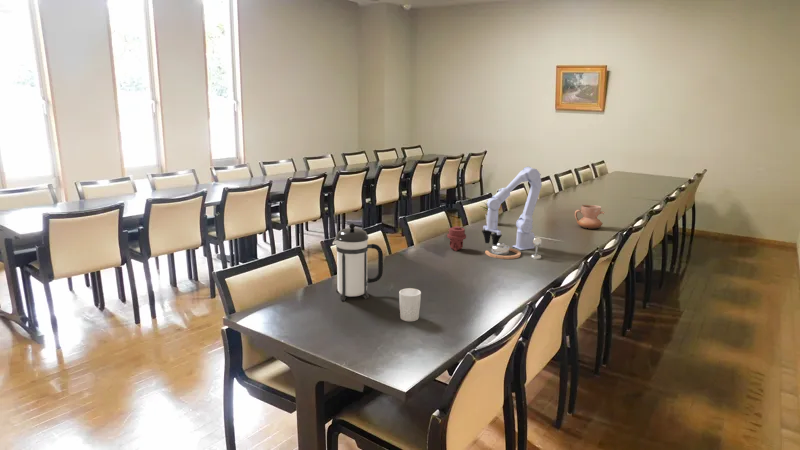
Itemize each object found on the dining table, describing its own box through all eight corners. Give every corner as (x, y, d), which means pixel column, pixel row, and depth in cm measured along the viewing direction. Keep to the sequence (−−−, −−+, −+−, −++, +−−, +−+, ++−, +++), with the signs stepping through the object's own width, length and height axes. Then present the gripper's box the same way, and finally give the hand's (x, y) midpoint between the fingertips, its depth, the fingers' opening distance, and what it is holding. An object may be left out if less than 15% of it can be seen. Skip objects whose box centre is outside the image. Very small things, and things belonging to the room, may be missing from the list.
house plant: (485, 220, 347) (487, 196, 343) (504, 223, 339) (506, 198, 336) (475, 223, 336) (477, 199, 332) (495, 227, 328) (496, 201, 324)
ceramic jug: (604, 227, 333) (606, 205, 330) (601, 231, 321) (603, 209, 318) (575, 224, 341) (577, 203, 338) (571, 228, 329) (573, 206, 326)
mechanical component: (466, 247, 280) (464, 252, 271) (447, 246, 282) (445, 251, 272) (467, 225, 277) (465, 229, 268) (448, 224, 279) (446, 228, 270)
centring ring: (511, 249, 277) (511, 247, 277) (527, 256, 265) (527, 254, 265) (483, 252, 270) (483, 250, 270) (498, 260, 258) (498, 258, 258)
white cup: (397, 313, 191) (398, 288, 189) (418, 313, 192) (419, 288, 189) (399, 322, 183) (400, 296, 181) (421, 322, 184) (422, 295, 182)
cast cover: (502, 249, 277) (503, 240, 276) (512, 254, 269) (512, 244, 268) (488, 251, 274) (488, 241, 273) (497, 255, 266) (498, 246, 265)
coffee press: (358, 305, 198) (358, 230, 191) (326, 297, 206) (325, 224, 199) (383, 292, 212) (384, 221, 205) (352, 284, 220) (352, 216, 213)
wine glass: (530, 256, 266) (532, 235, 264) (540, 256, 265) (542, 236, 263) (531, 258, 262) (532, 238, 259) (541, 259, 261) (542, 239, 258)
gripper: (478, 218, 281) (477, 242, 284) (493, 224, 268) (492, 248, 271) (489, 217, 284) (488, 241, 287) (504, 222, 271) (503, 247, 274)
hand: (490, 244), depth 279 cm, fingers open, 7 cm apart
